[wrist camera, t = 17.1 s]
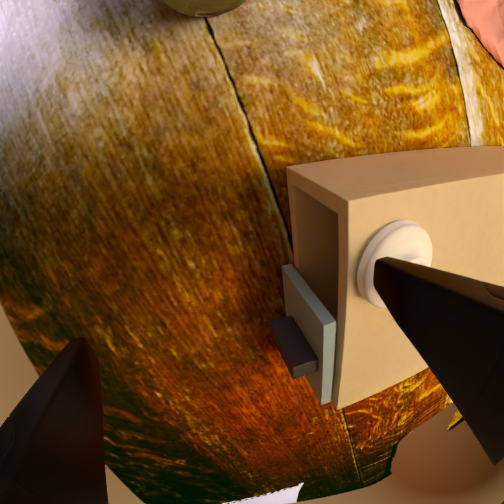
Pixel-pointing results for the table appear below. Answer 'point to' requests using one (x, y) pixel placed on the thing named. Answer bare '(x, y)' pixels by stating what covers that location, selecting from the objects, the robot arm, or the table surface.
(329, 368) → the closet door
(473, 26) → the cloth
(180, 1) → the beverage can
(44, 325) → the table surface
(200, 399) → the table surface
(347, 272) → the box
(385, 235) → the chess piece
